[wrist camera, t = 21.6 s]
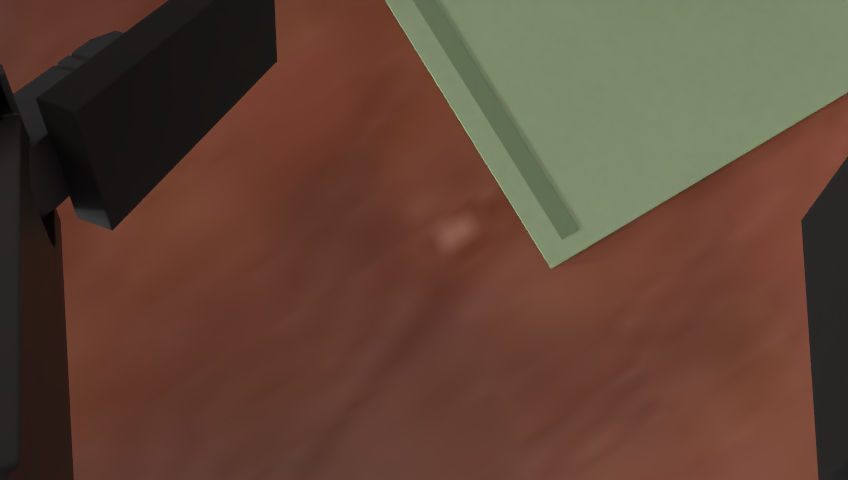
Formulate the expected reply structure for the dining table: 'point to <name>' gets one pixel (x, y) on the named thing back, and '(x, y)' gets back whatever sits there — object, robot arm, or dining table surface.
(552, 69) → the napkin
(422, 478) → the dining table surface
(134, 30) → the robot arm
